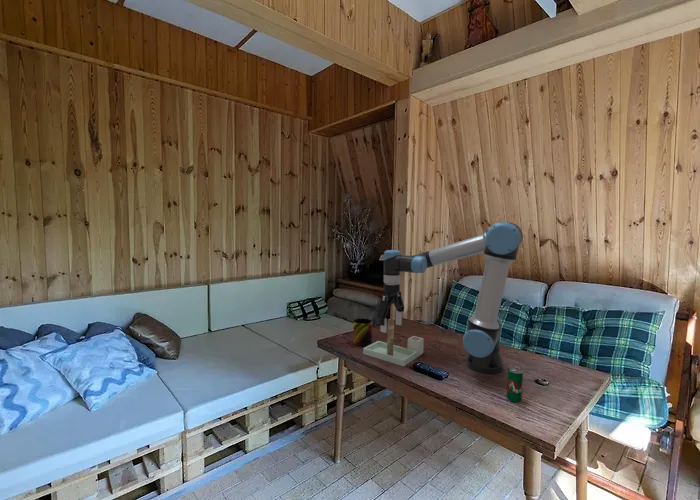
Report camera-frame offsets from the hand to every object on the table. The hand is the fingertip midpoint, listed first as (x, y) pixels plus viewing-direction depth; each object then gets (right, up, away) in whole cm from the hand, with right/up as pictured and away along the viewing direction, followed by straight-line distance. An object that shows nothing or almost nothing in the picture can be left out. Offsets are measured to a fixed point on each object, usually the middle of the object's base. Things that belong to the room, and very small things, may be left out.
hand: (391, 328), depth 160 cm
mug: (-14, -12, +20) cm, 28 cm away
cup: (+12, -14, +4) cm, 19 cm away
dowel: (0, -13, +1) cm, 13 cm away
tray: (0, -14, +2) cm, 14 cm away
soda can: (+40, -18, -35) cm, 57 cm away
